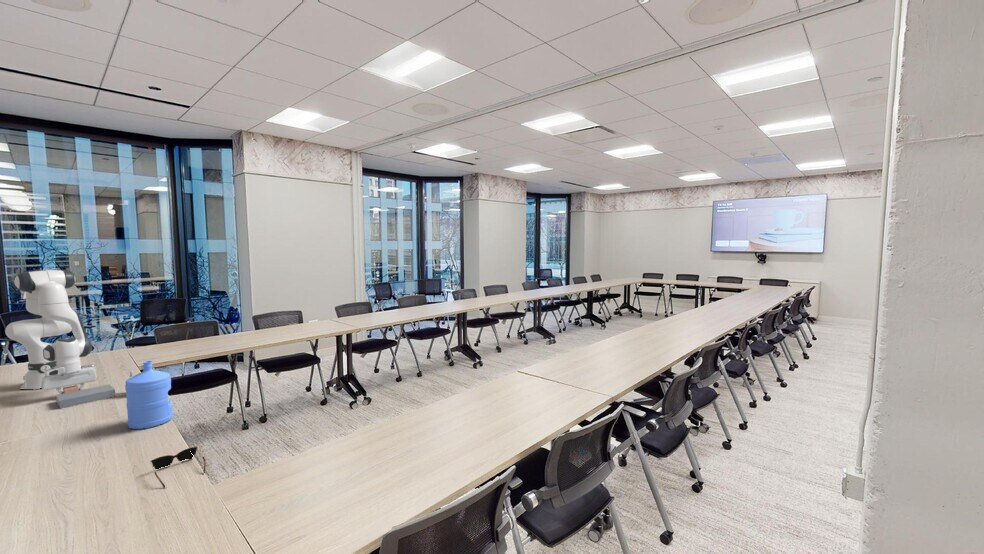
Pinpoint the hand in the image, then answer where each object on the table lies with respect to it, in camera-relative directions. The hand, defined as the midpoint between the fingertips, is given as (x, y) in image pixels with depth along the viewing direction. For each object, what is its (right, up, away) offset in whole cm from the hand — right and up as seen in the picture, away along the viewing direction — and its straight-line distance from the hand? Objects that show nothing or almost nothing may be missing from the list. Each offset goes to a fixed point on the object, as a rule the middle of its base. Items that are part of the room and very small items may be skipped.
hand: (71, 393), depth 211 cm
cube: (0, -2, 0) cm, 2 cm away
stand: (+12, -2, -4) cm, 13 cm away
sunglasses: (+114, -8, -71) cm, 135 cm away
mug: (+31, -2, +5) cm, 31 cm away
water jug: (+69, -4, -31) cm, 76 cm away
